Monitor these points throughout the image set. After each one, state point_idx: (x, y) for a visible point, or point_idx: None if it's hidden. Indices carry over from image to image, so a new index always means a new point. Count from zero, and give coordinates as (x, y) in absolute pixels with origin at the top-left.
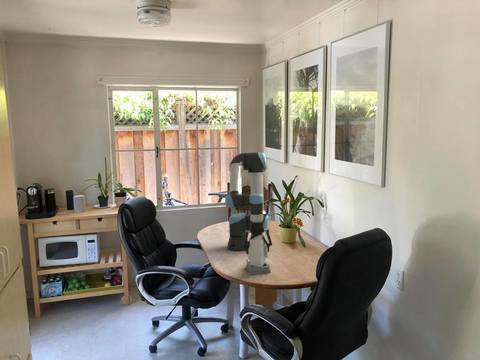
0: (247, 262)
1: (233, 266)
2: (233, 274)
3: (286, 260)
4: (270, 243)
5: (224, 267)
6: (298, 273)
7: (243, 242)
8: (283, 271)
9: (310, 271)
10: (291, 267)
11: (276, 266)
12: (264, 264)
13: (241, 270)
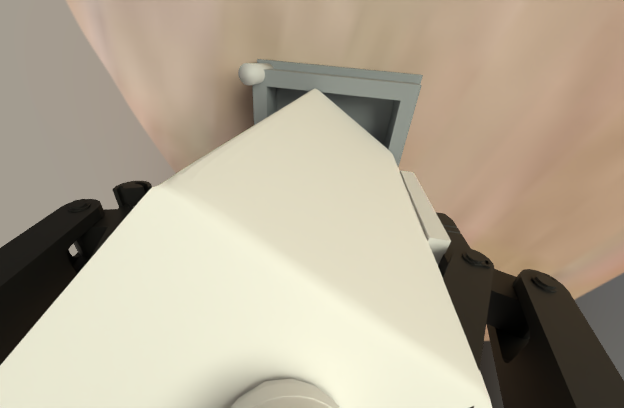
0: (254, 92)
1: (169, 6)
2: (177, 154)
3: None
4: (501, 346)
5: (104, 2)
6: (512, 274)
7: (12, 250)
8: (459, 225)
9: (596, 280)
10: (556, 193)
11: (476, 137)
12: (389, 126)
13: (224, 113)
